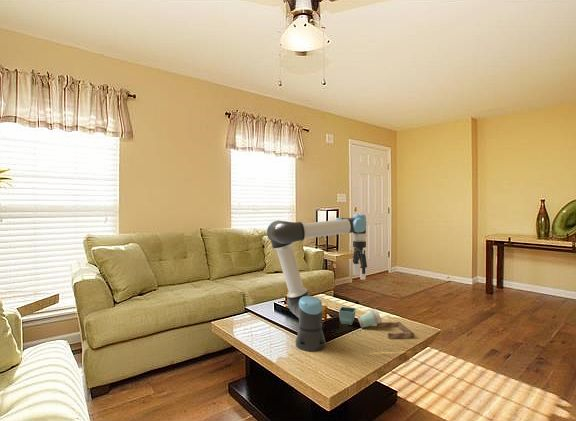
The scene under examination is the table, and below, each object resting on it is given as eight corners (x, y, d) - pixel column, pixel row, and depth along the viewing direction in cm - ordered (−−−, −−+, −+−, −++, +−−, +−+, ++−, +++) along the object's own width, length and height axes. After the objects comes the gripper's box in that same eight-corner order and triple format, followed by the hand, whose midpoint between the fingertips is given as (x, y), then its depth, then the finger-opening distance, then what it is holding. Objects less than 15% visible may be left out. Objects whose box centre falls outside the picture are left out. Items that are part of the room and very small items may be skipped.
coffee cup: (358, 322, 191) (377, 314, 190) (363, 333, 183) (383, 325, 183) (355, 312, 187) (374, 305, 186) (360, 323, 179) (380, 316, 179)
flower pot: (355, 322, 193) (355, 307, 193) (353, 327, 185) (353, 312, 185) (341, 321, 196) (341, 306, 196) (338, 325, 188) (338, 310, 188)
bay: (388, 338, 169) (388, 333, 169) (376, 326, 187) (376, 322, 187) (413, 338, 170) (413, 333, 170) (399, 326, 188) (399, 321, 188)
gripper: (373, 242, 175) (373, 281, 175) (359, 239, 200) (359, 273, 200) (359, 242, 175) (359, 281, 174) (347, 239, 200) (347, 273, 199)
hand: (359, 277), depth 187 cm, fingers open, 13 cm apart
